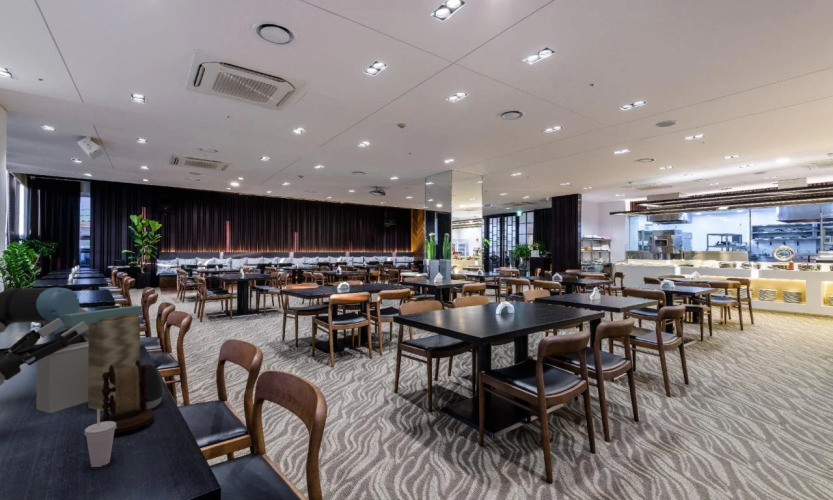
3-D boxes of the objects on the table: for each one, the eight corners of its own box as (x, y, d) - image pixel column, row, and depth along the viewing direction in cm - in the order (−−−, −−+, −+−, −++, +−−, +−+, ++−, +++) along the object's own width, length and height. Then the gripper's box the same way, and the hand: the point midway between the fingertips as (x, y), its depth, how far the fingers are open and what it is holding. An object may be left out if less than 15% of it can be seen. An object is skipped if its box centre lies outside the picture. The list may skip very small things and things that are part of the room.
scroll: (100, 443, 109) (100, 373, 109) (89, 427, 119) (89, 362, 119) (160, 426, 121) (160, 362, 121) (146, 412, 130) (146, 353, 130)
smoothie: (96, 457, 102) (96, 404, 102) (122, 456, 103) (122, 404, 103) (77, 471, 96) (77, 415, 96) (104, 470, 97) (105, 414, 96)
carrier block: (49, 413, 129) (49, 354, 128) (36, 409, 132) (36, 351, 132) (103, 396, 143) (104, 343, 143) (90, 393, 146) (91, 340, 146)
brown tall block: (102, 411, 131) (102, 319, 130) (88, 407, 134) (88, 317, 133) (139, 398, 142) (140, 314, 141) (125, 395, 145) (126, 312, 145)
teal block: (70, 326, 124) (70, 315, 124) (64, 325, 125) (64, 314, 125) (141, 315, 144) (141, 306, 144) (135, 314, 146) (135, 305, 146)
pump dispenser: (171, 404, 137) (171, 361, 137) (141, 416, 127) (142, 370, 127) (150, 400, 141) (150, 358, 141) (120, 411, 131) (120, 366, 131)
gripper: (8, 368, 103) (89, 317, 120) (-36, 356, 112) (45, 310, 129) (27, 388, 106) (103, 335, 123) (-18, 375, 116) (59, 328, 133)
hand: (73, 322), depth 126 cm, fingers open, 13 cm apart
